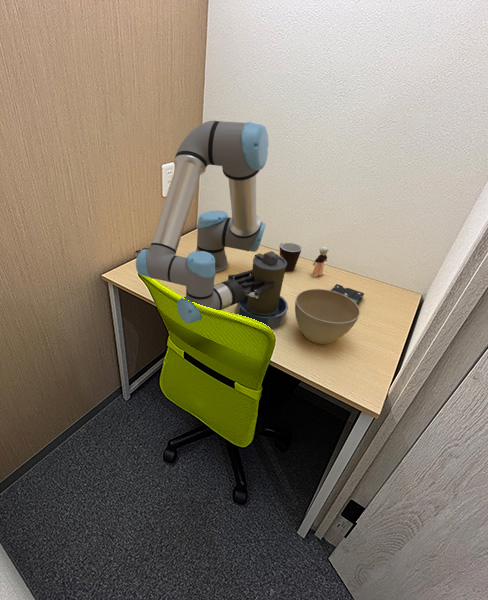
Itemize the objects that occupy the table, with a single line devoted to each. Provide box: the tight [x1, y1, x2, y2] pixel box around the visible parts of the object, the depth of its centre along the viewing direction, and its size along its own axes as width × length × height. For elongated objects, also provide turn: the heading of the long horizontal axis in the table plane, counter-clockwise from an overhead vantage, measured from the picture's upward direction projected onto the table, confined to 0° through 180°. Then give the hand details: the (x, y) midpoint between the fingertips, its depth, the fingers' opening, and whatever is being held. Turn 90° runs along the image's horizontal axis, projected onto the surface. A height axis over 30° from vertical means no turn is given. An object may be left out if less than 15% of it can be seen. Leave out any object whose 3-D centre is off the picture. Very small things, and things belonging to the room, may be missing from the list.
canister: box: [247, 250, 287, 315], centre depth 109 cm, size 11×10×20 cm
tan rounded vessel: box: [294, 288, 361, 345], centre depth 104 cm, size 18×18×12 cm
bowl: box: [235, 295, 289, 330], centre depth 115 cm, size 17×17×5 cm
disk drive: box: [330, 283, 365, 306], centre depth 122 cm, size 10×3×15 cm
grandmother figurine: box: [311, 246, 329, 278], centre depth 136 cm, size 8×4×13 cm, turn 131°
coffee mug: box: [279, 242, 303, 273], centre depth 142 cm, size 12×9×10 cm
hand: (278, 272), depth 111 cm, fingers closed on canister, 2 cm apart
